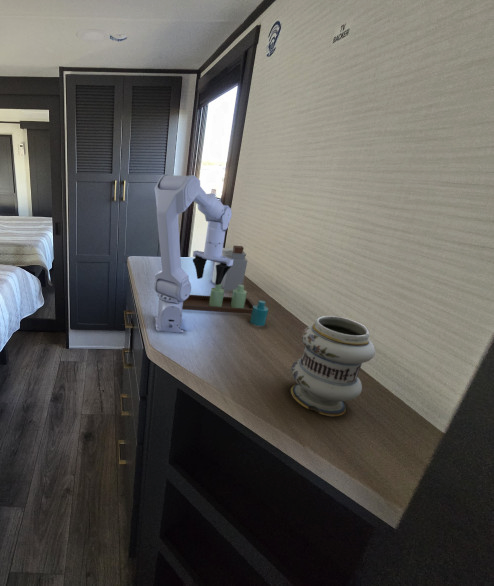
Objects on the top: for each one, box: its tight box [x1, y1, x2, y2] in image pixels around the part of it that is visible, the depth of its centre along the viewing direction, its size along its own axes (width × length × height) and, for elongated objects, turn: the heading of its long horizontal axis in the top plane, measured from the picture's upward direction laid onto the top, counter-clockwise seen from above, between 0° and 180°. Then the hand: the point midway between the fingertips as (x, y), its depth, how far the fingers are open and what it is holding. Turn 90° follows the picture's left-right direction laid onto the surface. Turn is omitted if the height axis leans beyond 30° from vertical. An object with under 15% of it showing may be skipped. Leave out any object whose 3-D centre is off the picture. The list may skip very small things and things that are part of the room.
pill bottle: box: [211, 247, 233, 285], centre depth 133 cm, size 8×8×15 cm
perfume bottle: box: [221, 245, 248, 292], centre depth 125 cm, size 7×7×18 cm
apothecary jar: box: [290, 315, 376, 417], centre depth 63 cm, size 12×12×18 cm
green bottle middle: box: [209, 284, 225, 307], centre depth 109 cm, size 4×4×8 cm
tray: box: [182, 294, 255, 315], centre depth 111 cm, size 11×26×2 cm, turn 83°
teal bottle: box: [249, 300, 269, 327], centre depth 97 cm, size 4×4×8 cm
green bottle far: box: [230, 284, 248, 308], centre depth 108 cm, size 4×4×8 cm
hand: (208, 281), depth 108 cm, fingers open, 7 cm apart
